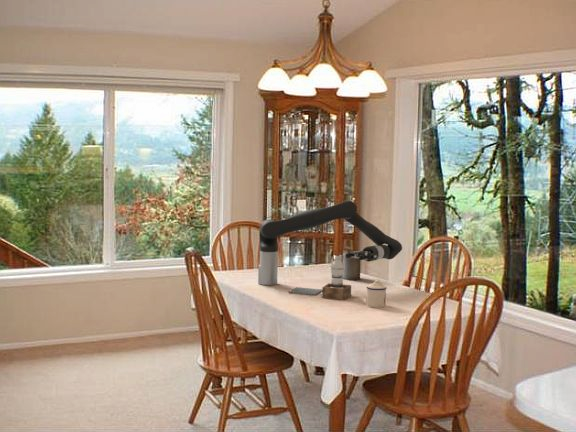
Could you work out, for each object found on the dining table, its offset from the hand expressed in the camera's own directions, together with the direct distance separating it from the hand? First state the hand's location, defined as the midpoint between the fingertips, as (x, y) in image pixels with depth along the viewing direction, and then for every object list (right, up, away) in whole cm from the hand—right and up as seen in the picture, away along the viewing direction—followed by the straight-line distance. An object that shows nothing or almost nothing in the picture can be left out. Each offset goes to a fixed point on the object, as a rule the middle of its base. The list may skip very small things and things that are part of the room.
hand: (352, 256), depth 349 cm
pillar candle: (+3, -14, +40) cm, 42 cm away
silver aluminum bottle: (-8, -19, -6) cm, 22 cm away
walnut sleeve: (-8, -19, -6) cm, 21 cm away
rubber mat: (-23, -17, +3) cm, 29 cm away
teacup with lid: (+8, -21, -22) cm, 32 cm away
